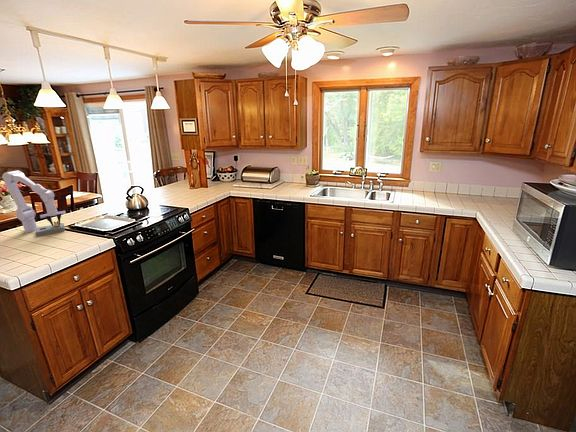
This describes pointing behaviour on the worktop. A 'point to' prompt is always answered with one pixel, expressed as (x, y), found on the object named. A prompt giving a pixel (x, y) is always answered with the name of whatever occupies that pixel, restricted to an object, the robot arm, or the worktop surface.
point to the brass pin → (56, 224)
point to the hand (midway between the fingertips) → (56, 225)
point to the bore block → (49, 229)
